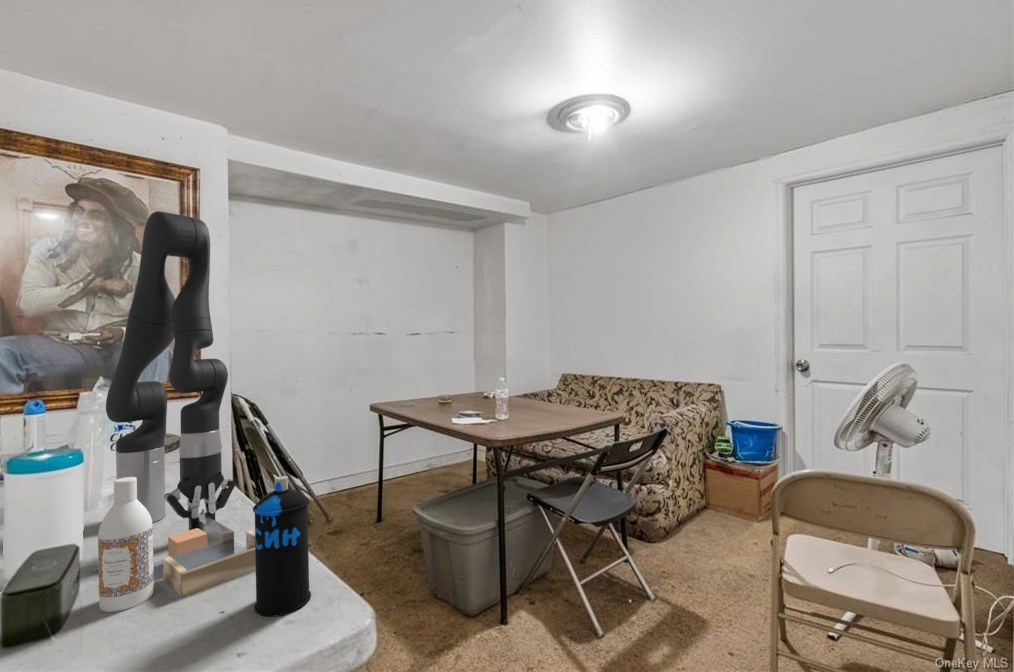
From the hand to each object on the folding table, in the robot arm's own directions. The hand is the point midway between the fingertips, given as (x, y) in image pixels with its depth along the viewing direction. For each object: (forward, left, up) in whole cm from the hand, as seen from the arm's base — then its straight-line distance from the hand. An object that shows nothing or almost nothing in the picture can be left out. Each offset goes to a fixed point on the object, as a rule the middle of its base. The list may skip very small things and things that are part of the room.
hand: (202, 532), depth 101 cm
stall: (+19, -4, -2) cm, 19 cm away
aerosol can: (+39, -2, -2) cm, 39 cm away
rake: (+6, -4, -1) cm, 7 cm away
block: (+10, -6, -1) cm, 12 cm away
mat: (+15, -4, -2) cm, 15 cm away
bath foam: (+18, -17, -2) cm, 24 cm away
